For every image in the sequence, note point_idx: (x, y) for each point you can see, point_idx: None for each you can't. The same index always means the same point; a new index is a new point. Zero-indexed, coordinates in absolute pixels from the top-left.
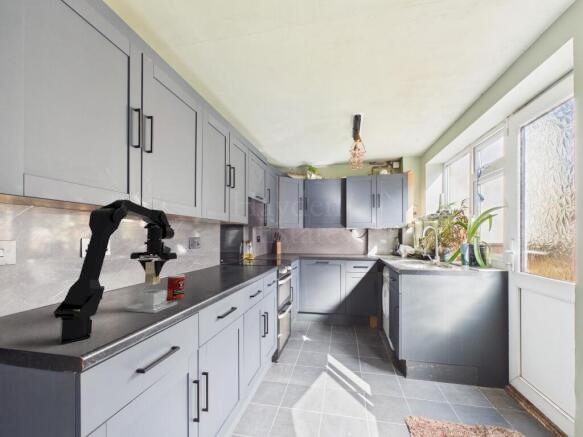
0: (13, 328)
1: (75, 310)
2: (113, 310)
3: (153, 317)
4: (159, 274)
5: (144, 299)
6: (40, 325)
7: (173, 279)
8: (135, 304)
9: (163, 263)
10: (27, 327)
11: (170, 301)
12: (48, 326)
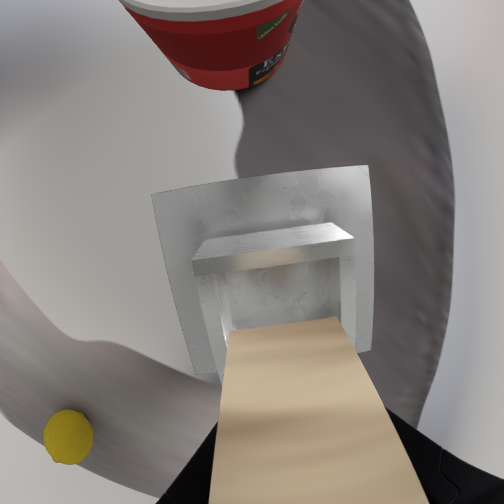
0: (125, 482)
1: (91, 426)
2: (146, 369)
3: (396, 374)
4: (367, 390)
5: None
6: (145, 475)
7: (251, 22)
8: (182, 316)
9: (497, 494)
10: (139, 481)
11: (330, 184)
12: (170, 478)
